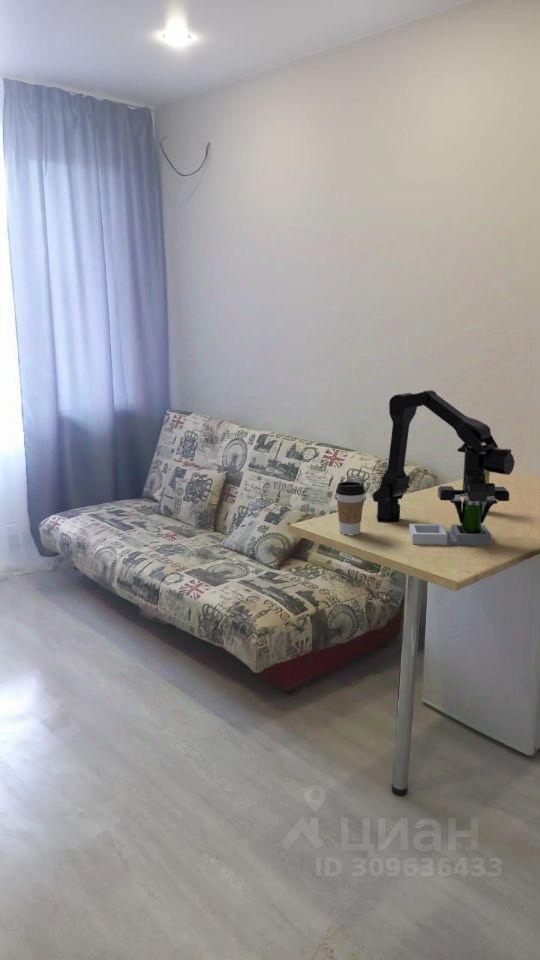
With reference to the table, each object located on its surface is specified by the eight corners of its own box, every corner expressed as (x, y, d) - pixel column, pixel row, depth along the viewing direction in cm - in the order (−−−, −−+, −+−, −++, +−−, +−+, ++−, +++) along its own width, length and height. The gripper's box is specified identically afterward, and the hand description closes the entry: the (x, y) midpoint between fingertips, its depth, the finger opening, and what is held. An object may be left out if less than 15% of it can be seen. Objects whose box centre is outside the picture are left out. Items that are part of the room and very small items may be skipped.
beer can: (471, 544, 195) (473, 502, 192) (456, 539, 199) (458, 498, 197) (484, 540, 198) (486, 499, 195) (469, 535, 202) (471, 495, 200)
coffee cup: (341, 538, 202) (342, 487, 198) (331, 529, 210) (331, 481, 206) (368, 535, 204) (369, 485, 200) (357, 527, 212) (358, 478, 208)
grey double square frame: (412, 544, 196) (412, 533, 195) (409, 533, 205) (409, 523, 204) (490, 545, 194) (491, 535, 193) (483, 534, 203) (484, 525, 202)
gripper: (444, 475, 187) (441, 531, 191) (516, 476, 185) (512, 532, 189) (438, 466, 198) (436, 519, 201) (506, 466, 196) (502, 520, 200)
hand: (471, 522), depth 198 cm, fingers closed on beer can, 5 cm apart
